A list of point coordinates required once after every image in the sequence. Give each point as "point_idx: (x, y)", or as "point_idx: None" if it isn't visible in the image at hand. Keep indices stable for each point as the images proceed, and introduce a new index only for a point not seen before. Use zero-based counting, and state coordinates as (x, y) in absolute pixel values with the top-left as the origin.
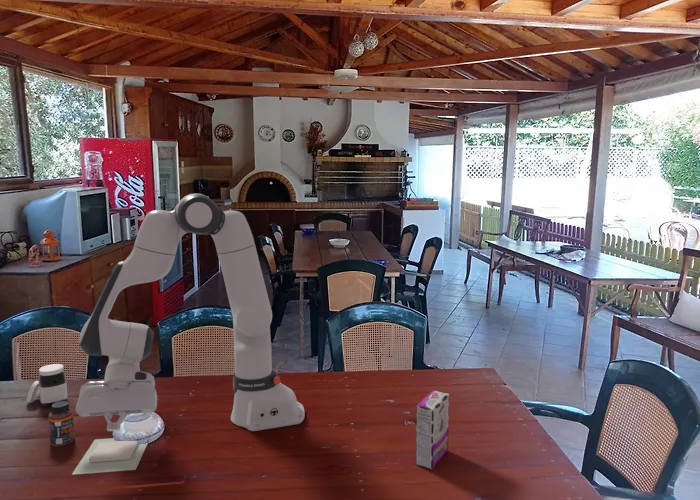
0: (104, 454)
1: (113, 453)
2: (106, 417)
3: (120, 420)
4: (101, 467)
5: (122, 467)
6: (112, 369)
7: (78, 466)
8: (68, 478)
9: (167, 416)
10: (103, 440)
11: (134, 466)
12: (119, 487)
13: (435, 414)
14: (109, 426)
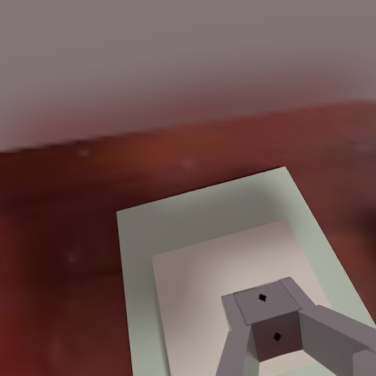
0: (250, 252)
1: (221, 263)
2: (365, 335)
3: (226, 340)
4: (224, 207)
5: (160, 216)
6: None
7: (300, 202)
8: (285, 162)
9: None
10: None
11: (125, 225)
12: (133, 151)
13: None
14: (280, 287)
